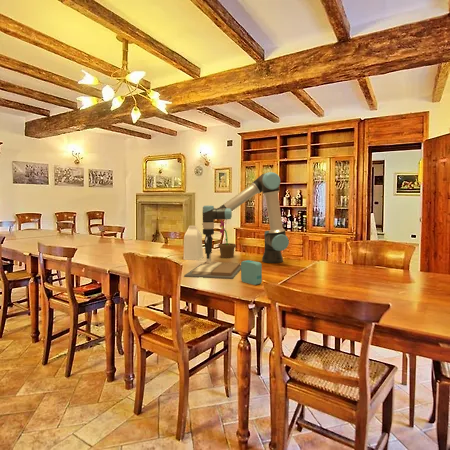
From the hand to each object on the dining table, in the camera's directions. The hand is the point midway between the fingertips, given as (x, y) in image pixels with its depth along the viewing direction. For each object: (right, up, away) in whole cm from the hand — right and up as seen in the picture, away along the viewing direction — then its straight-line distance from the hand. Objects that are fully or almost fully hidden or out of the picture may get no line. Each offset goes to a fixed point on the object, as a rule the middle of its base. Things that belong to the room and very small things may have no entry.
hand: (208, 263), depth 227 cm
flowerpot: (+13, 0, +40) cm, 42 cm away
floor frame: (+6, -4, -11) cm, 13 cm away
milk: (-14, -1, +35) cm, 38 cm away
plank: (0, -3, -10) cm, 10 cm away
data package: (+26, -7, -40) cm, 48 cm away
